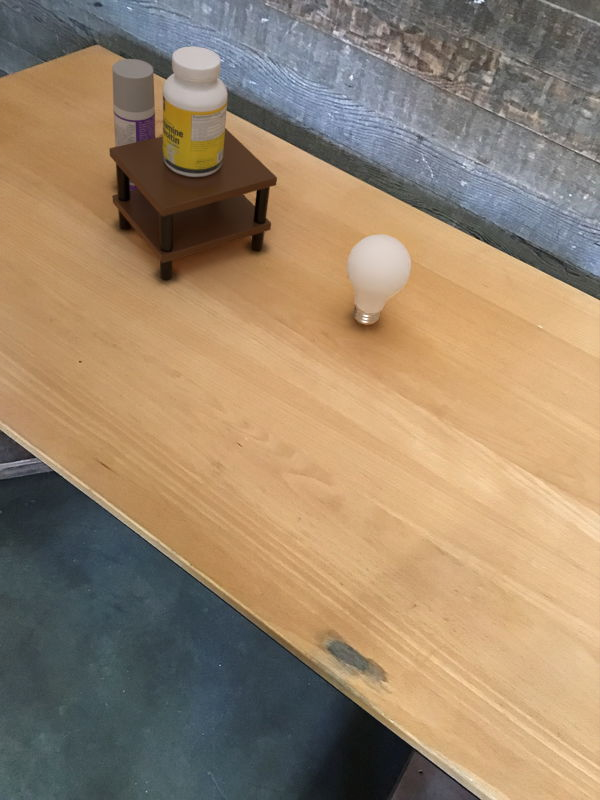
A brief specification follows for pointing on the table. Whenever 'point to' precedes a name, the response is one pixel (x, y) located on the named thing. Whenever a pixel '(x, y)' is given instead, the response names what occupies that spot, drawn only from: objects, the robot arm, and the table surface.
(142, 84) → the container
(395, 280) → the light bulb
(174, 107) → the pill bottle
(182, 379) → the table surface
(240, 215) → the stand
